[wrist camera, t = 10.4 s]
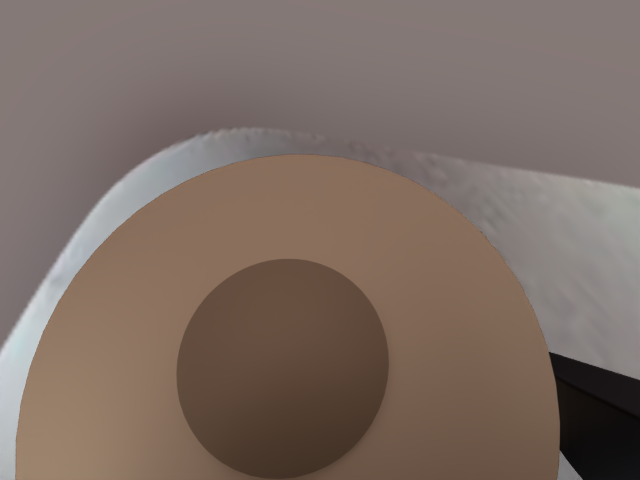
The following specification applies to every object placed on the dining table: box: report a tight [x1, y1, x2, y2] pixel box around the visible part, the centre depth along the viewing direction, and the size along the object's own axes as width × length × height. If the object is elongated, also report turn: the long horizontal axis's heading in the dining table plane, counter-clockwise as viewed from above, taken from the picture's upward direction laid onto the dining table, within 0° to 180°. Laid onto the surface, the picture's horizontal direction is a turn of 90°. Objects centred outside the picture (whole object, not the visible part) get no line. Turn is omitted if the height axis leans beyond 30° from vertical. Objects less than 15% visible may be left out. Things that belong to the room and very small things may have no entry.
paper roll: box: [15, 154, 560, 480], centre depth 10 cm, size 6×6×13 cm
